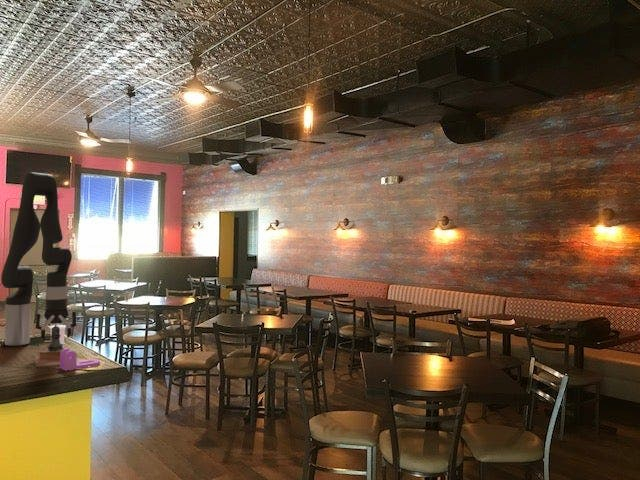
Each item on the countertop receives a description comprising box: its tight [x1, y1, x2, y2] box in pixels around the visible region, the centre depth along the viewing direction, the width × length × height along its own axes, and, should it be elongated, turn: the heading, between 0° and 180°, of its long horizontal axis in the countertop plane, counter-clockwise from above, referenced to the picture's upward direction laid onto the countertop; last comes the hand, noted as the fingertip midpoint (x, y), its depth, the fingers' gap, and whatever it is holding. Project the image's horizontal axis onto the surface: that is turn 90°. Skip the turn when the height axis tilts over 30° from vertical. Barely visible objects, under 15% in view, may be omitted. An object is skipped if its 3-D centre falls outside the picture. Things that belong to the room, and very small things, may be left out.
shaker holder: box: [35, 350, 62, 368], centre depth 192 cm, size 11×10×3 cm
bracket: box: [59, 347, 101, 372], centre depth 188 cm, size 13×6×7 cm, turn 135°
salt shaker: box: [46, 323, 64, 352], centre depth 203 cm, size 6×6×12 cm
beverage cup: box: [49, 323, 67, 347], centre depth 214 cm, size 6×6×14 cm
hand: (56, 338), depth 203 cm, fingers open, 8 cm apart
